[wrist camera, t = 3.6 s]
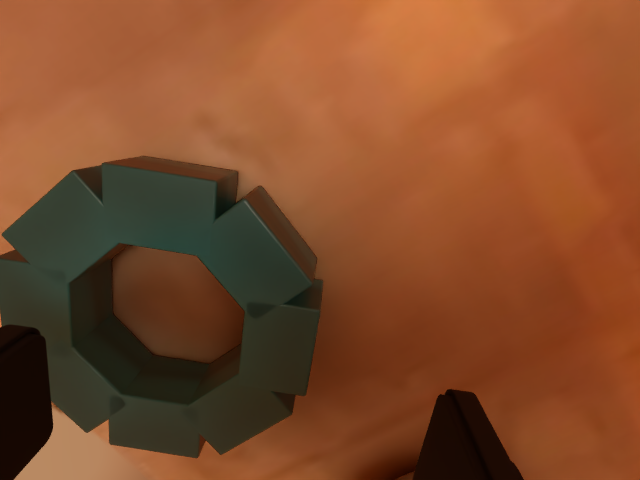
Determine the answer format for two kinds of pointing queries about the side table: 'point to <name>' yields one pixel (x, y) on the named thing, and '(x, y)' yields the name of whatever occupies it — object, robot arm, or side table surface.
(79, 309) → the teal ring
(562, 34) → the side table surface
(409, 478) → the cup
